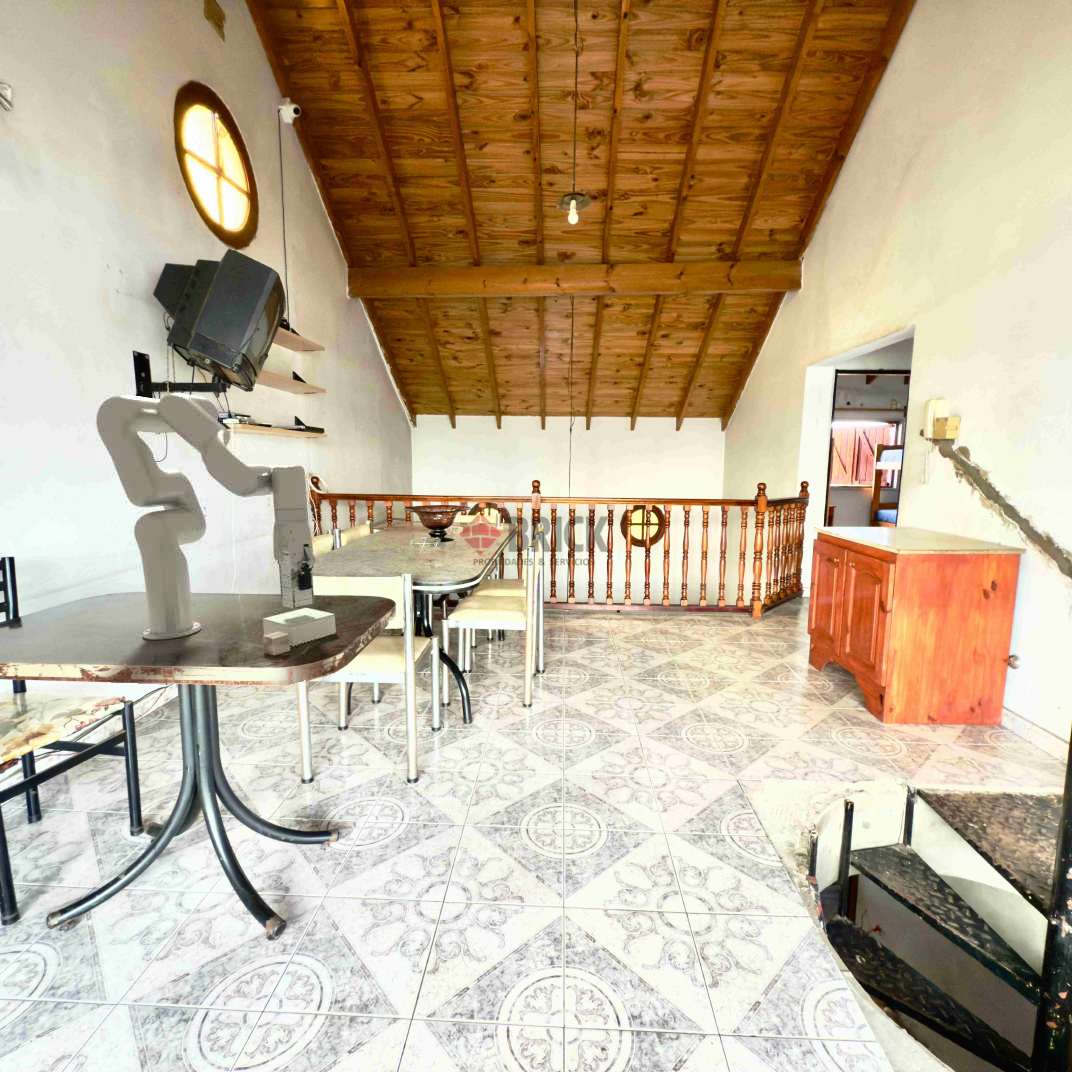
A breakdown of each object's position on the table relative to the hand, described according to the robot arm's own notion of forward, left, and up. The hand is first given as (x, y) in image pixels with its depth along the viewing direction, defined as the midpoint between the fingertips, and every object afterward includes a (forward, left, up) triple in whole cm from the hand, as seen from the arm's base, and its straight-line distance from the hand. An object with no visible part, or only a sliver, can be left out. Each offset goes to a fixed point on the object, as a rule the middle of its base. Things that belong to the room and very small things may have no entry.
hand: (297, 587), depth 140 cm
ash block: (+6, -10, -13) cm, 17 cm away
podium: (0, 0, -12) cm, 12 cm away
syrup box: (0, 0, -5) cm, 5 cm away
